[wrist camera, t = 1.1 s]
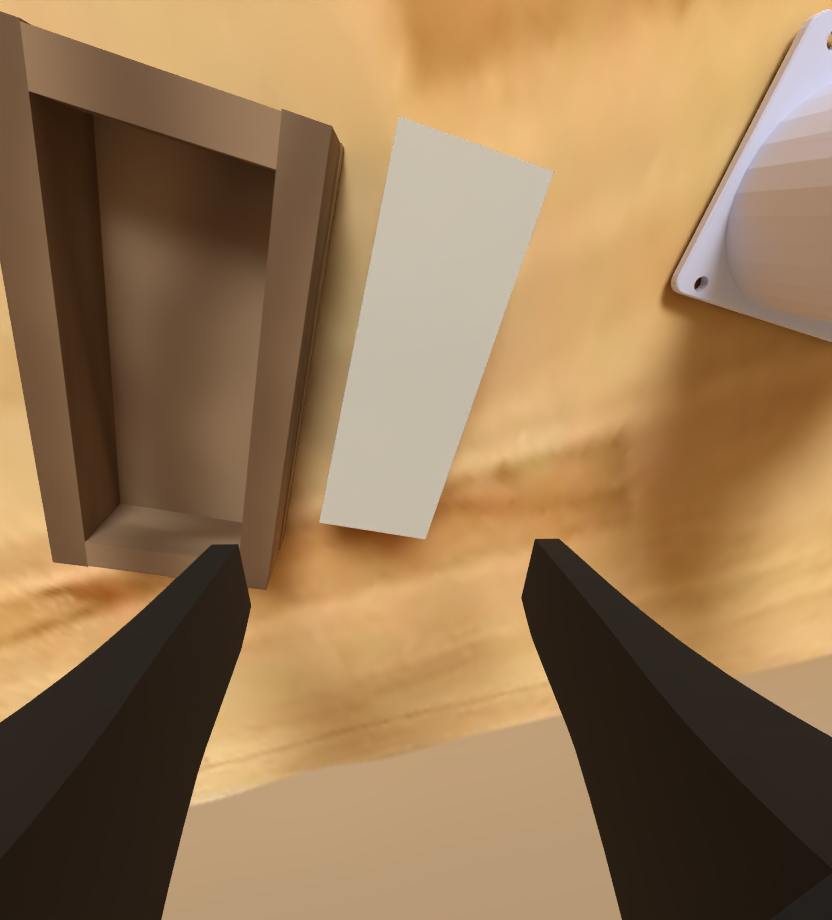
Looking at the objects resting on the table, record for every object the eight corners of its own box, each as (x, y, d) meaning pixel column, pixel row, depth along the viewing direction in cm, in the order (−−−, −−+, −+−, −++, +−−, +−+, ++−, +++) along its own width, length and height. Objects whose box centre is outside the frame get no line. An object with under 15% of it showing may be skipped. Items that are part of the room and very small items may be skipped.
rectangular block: (506, 185, 14) (553, 171, 11) (416, 477, 20) (425, 539, 16) (392, 146, 14) (398, 116, 10) (330, 461, 19) (319, 522, 15)
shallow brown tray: (344, 148, 13) (334, 126, 10) (283, 535, 21) (267, 589, 18) (60, 52, 12) (-50, -6, 9) (103, 508, 19) (51, 561, 16)
